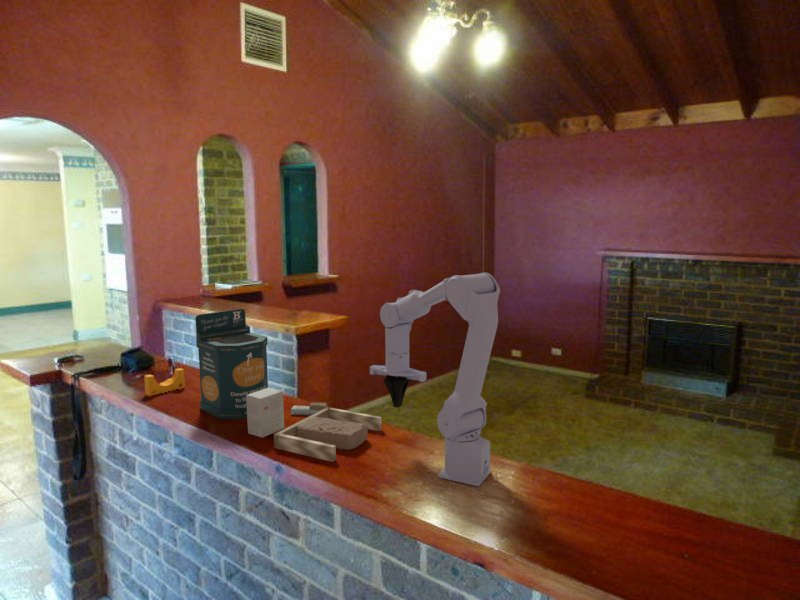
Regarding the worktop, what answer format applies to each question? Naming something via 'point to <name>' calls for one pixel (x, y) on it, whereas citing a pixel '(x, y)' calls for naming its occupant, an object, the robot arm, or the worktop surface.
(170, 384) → the pipe clamp
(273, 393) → the small box
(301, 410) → the scraper bar
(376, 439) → the worktop surface
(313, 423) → the brick
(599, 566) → the worktop surface
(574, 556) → the worktop surface
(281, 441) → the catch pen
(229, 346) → the donation box
